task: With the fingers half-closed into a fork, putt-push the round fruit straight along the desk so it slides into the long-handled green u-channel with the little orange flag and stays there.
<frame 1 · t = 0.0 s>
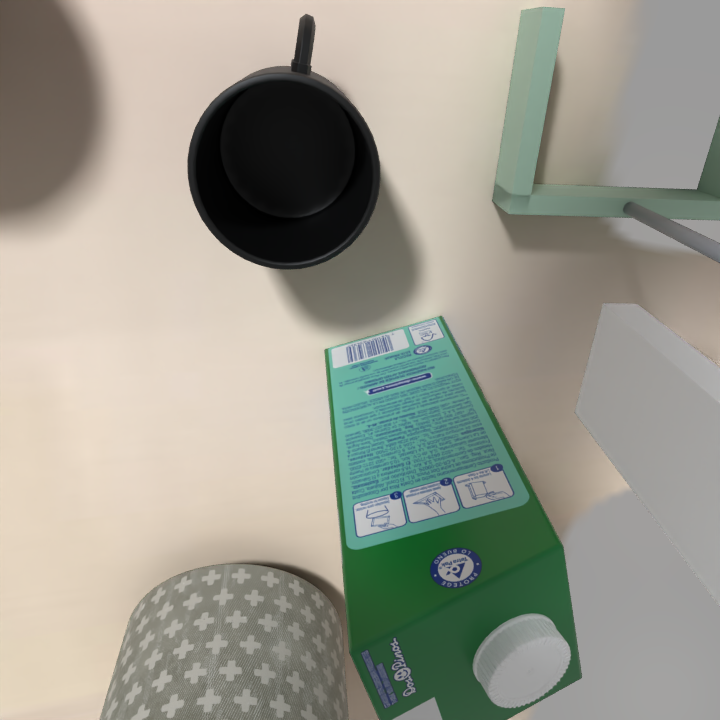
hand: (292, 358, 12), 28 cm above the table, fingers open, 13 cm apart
planter: (239, 609, 56), on the table
mug: (291, 128, 37), on the table
milk carton: (396, 380, 46), on the table
long-handled green u-channel: (620, 126, 38), on the table
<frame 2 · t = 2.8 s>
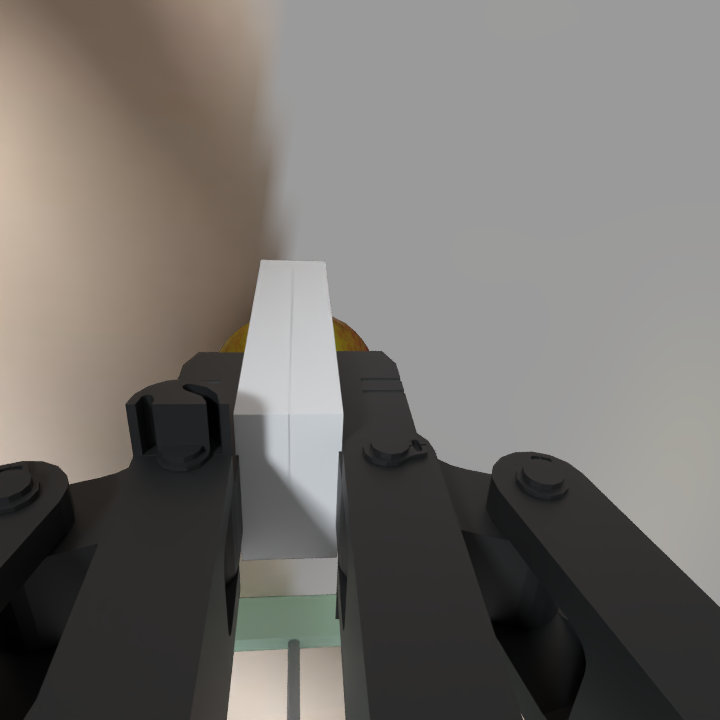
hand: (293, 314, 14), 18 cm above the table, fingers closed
fruit: (293, 360, 35), on the table
long-handled green u-channel: (294, 559, 42), on the table
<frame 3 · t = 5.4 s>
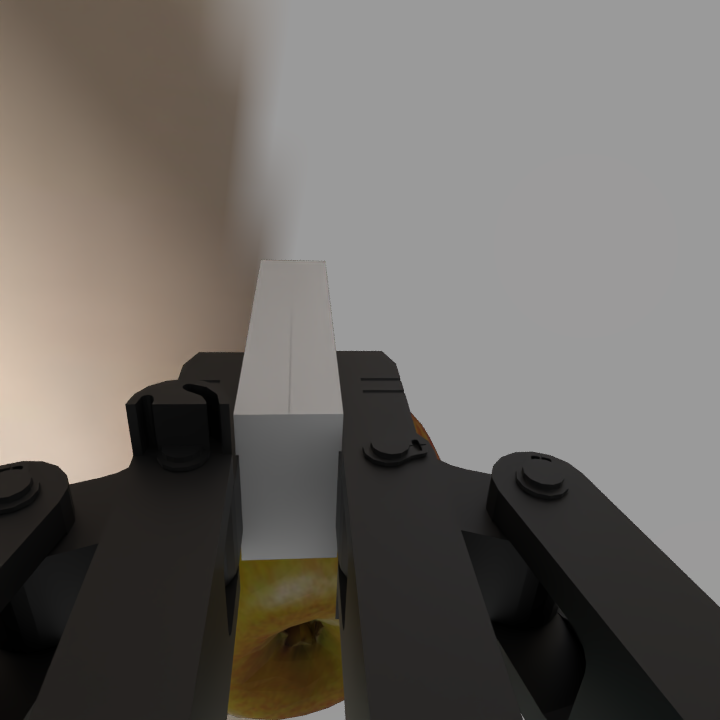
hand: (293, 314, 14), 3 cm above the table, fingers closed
fruit: (289, 442, 20), on the table, touching gripper
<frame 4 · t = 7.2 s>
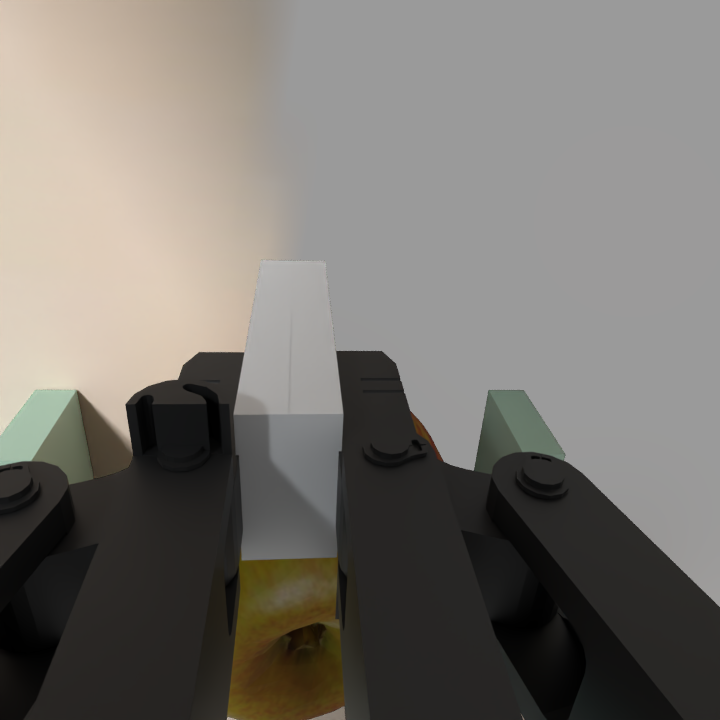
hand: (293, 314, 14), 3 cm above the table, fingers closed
fruit: (291, 445, 20), on the table, touching gripper
long-handled green u-channel: (290, 531, 22), on the table
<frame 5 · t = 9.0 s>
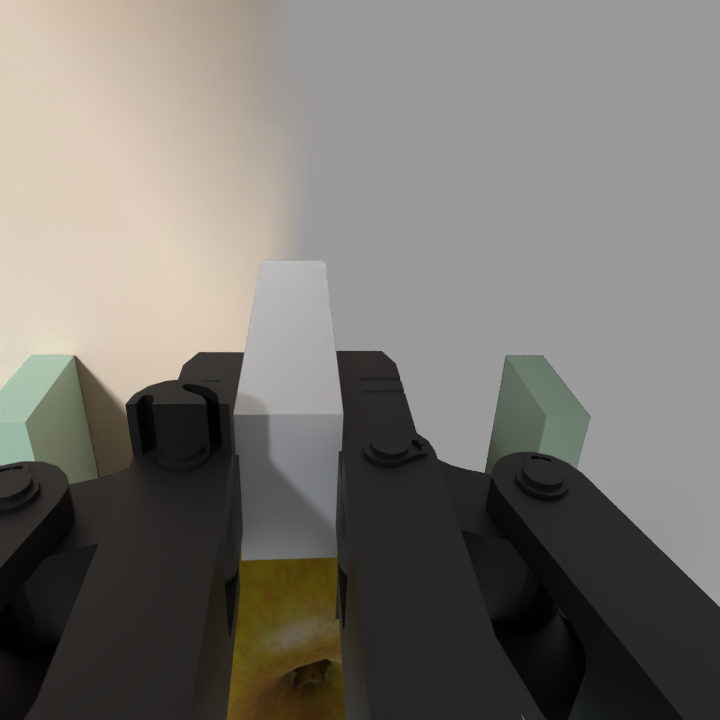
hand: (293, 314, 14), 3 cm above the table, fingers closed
fruit: (295, 471, 20), on the table
long-handled green u-channel: (298, 507, 21), on the table
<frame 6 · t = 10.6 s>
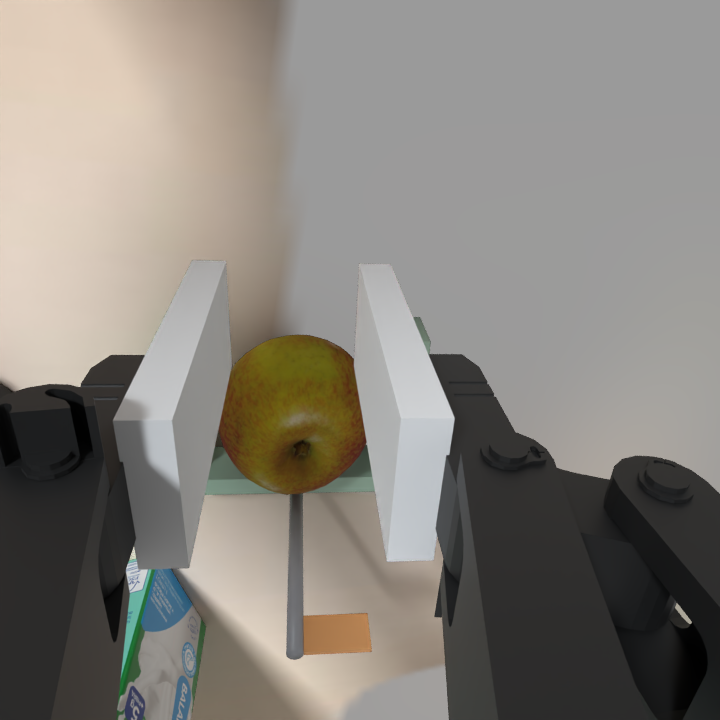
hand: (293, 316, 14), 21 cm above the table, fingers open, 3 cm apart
fruit: (295, 379, 39), on the table
milk carton: (131, 602, 47), on the table
long-handled green u-channel: (296, 399, 39), on the table
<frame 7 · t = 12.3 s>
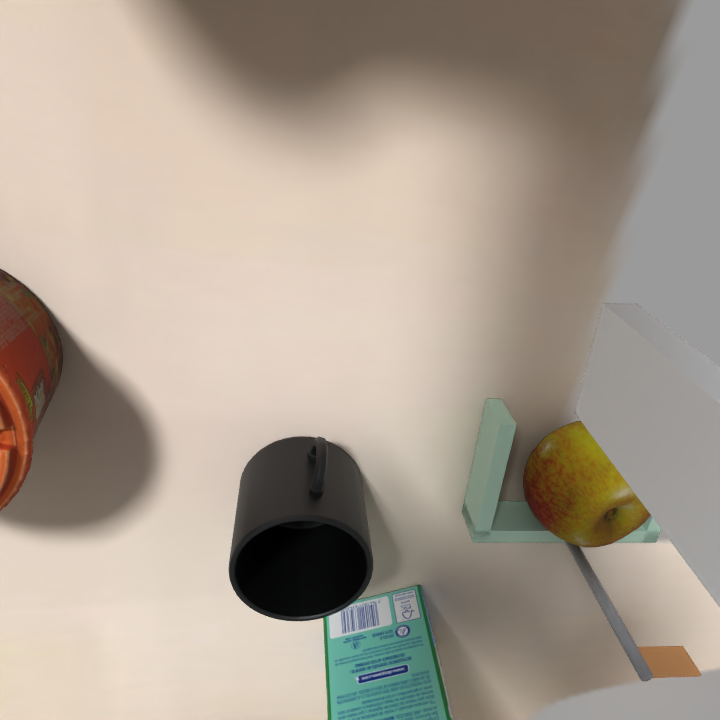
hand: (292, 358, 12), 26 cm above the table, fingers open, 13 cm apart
fruit: (566, 449, 48), on the table
mug: (304, 469, 46), on the table
milk carton: (381, 626, 55), on the table
long-handled green u-channel: (564, 465, 48), on the table
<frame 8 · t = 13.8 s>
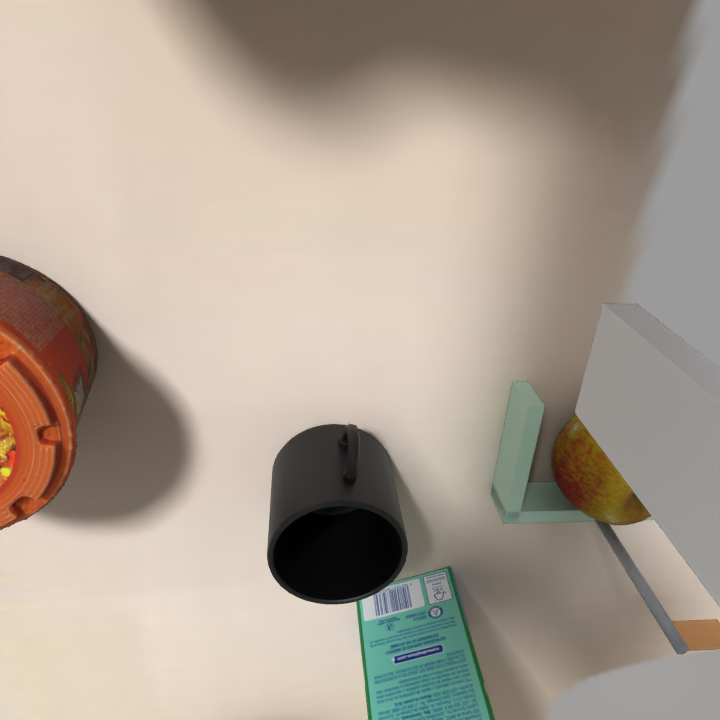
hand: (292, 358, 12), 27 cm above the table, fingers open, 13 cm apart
fruit: (593, 429, 48), on the table
mug: (334, 456, 47), on the table
milk carton: (413, 608, 56), on the table
long-handled green u-channel: (591, 444, 49), on the table
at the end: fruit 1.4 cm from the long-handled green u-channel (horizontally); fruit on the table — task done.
